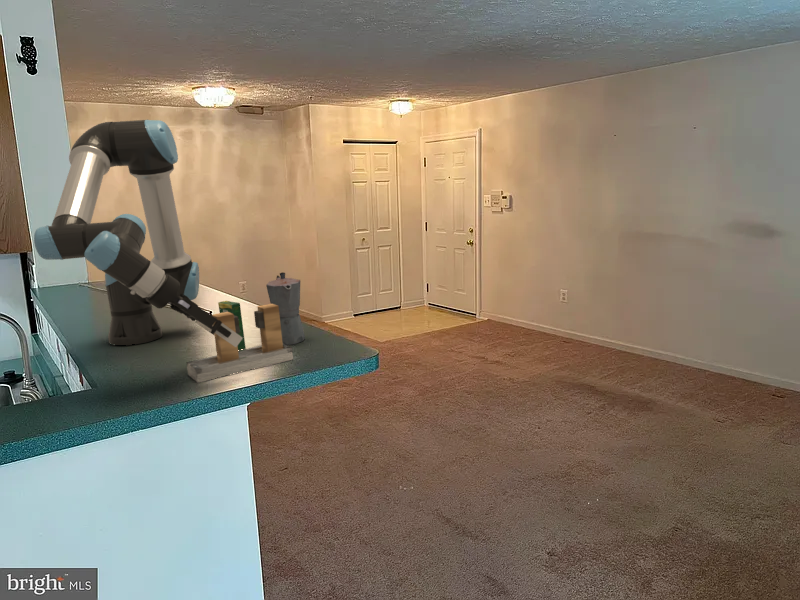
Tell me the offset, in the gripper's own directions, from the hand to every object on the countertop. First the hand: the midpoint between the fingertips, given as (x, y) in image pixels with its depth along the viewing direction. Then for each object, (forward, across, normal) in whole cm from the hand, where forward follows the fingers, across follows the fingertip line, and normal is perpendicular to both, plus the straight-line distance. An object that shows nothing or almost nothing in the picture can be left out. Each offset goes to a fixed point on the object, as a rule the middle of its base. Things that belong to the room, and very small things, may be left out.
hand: (228, 337), depth 142 cm
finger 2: (+12, 0, +3) cm, 12 cm away
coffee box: (+11, -19, -1) cm, 22 cm away
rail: (+7, 0, -4) cm, 8 cm away
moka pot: (+21, -14, +9) cm, 27 cm away
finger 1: (+4, 0, -5) cm, 6 cm away
